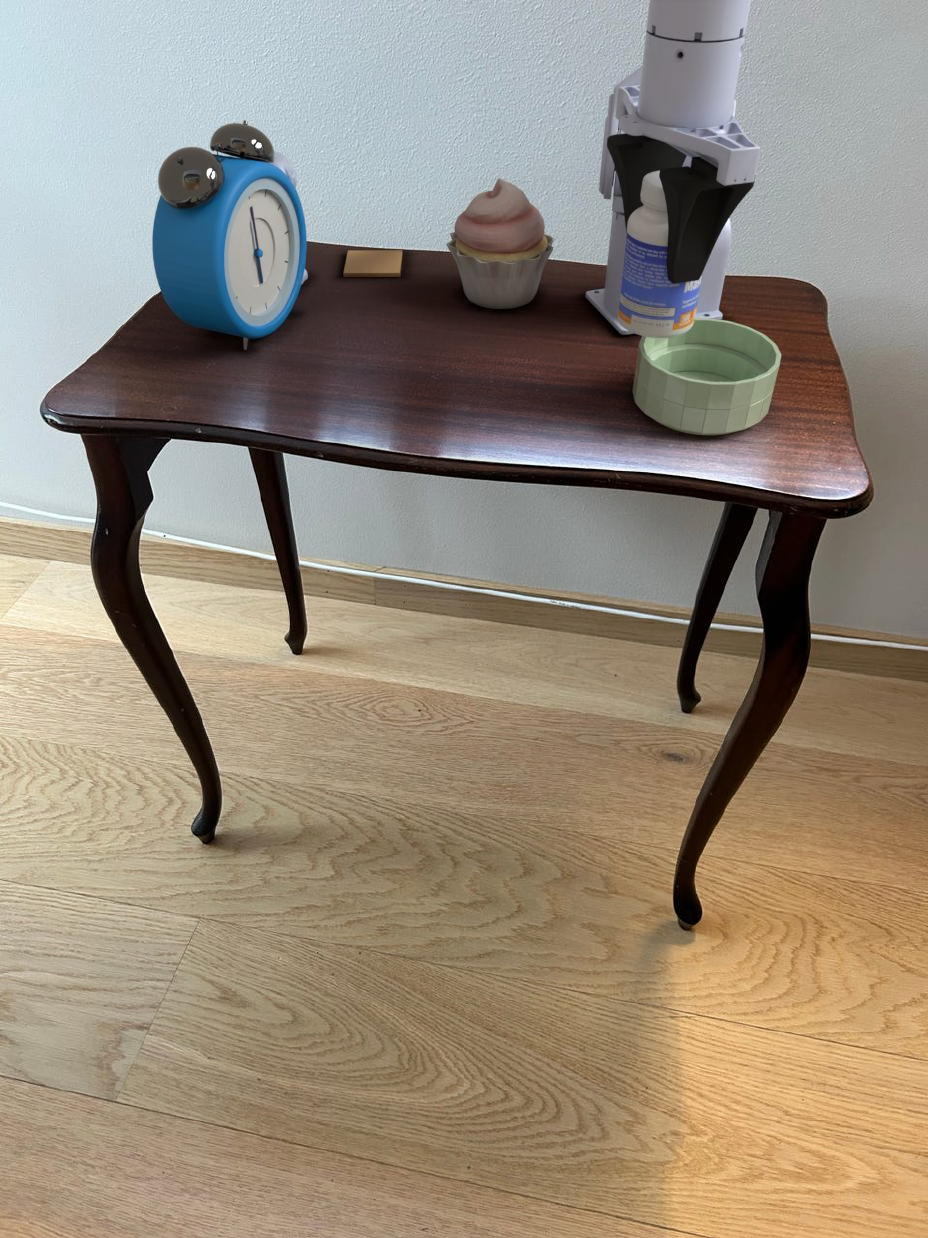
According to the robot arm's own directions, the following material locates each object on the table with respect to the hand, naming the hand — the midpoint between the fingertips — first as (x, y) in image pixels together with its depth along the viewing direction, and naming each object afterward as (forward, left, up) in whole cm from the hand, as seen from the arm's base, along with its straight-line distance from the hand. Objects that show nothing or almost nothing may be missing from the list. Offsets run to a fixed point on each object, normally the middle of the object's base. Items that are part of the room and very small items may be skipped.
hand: (662, 262), depth 65 cm
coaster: (+13, -30, -10) cm, 34 cm away
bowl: (-4, +2, -10) cm, 11 cm away
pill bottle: (0, 0, -5) cm, 5 cm away
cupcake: (+4, -20, -11) cm, 23 cm away
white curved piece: (+23, -28, -11) cm, 38 cm away
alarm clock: (+27, -21, -11) cm, 35 cm away
